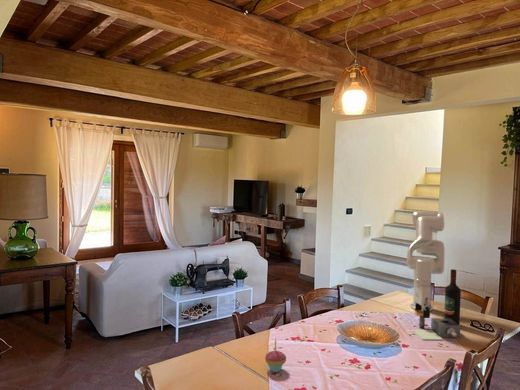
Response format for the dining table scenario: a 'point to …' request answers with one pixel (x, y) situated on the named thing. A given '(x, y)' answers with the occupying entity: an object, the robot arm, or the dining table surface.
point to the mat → (427, 335)
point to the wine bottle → (452, 299)
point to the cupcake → (275, 360)
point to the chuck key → (421, 319)
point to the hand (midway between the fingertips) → (422, 314)
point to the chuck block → (445, 327)
